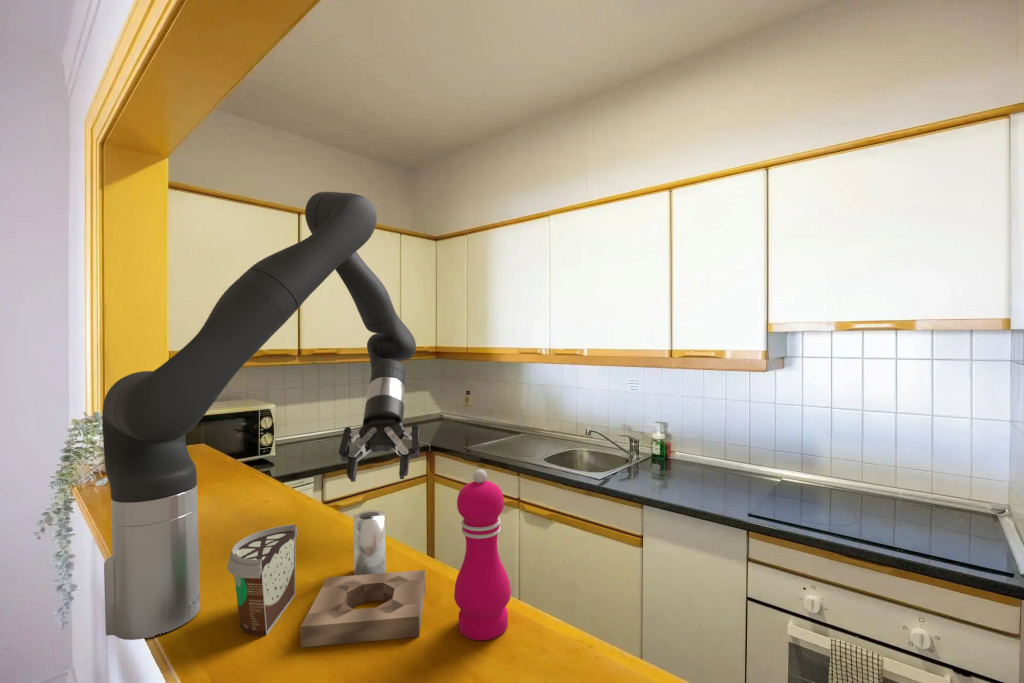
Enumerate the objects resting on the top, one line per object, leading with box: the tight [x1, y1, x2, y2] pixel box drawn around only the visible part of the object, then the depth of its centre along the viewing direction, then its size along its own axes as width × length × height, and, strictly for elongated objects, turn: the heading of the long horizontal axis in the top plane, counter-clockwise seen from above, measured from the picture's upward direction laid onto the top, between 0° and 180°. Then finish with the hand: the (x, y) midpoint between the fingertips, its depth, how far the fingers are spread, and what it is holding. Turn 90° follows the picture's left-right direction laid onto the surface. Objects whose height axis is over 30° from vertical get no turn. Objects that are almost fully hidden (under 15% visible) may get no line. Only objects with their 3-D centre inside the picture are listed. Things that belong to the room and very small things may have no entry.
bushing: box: [352, 509, 387, 575], centre depth 76 cm, size 5×5×9 cm
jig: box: [300, 569, 426, 648], centre depth 64 cm, size 14×12×2 cm
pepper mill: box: [453, 469, 512, 641], centre depth 61 cm, size 7×7×20 cm
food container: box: [227, 524, 298, 637], centre depth 64 cm, size 12×6×10 cm, turn 4°
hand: (377, 478), depth 84 cm, fingers open, 8 cm apart
